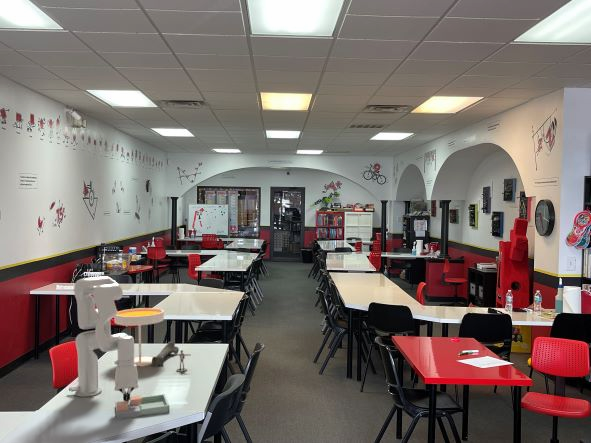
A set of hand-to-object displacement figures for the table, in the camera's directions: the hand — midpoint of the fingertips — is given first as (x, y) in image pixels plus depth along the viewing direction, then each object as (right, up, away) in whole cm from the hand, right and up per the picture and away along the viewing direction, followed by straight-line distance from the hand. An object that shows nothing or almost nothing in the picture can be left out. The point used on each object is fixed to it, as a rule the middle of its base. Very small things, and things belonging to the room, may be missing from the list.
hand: (126, 401), depth 251 cm
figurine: (+13, -3, +62) cm, 63 cm away
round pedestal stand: (-17, -3, +81) cm, 83 cm away
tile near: (0, -1, -6) cm, 6 cm away
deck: (+1, -4, -3) cm, 5 cm away
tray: (+12, -4, +2) cm, 12 cm away
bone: (-4, -3, +86) cm, 86 cm away
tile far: (+4, -1, +1) cm, 4 cm away
